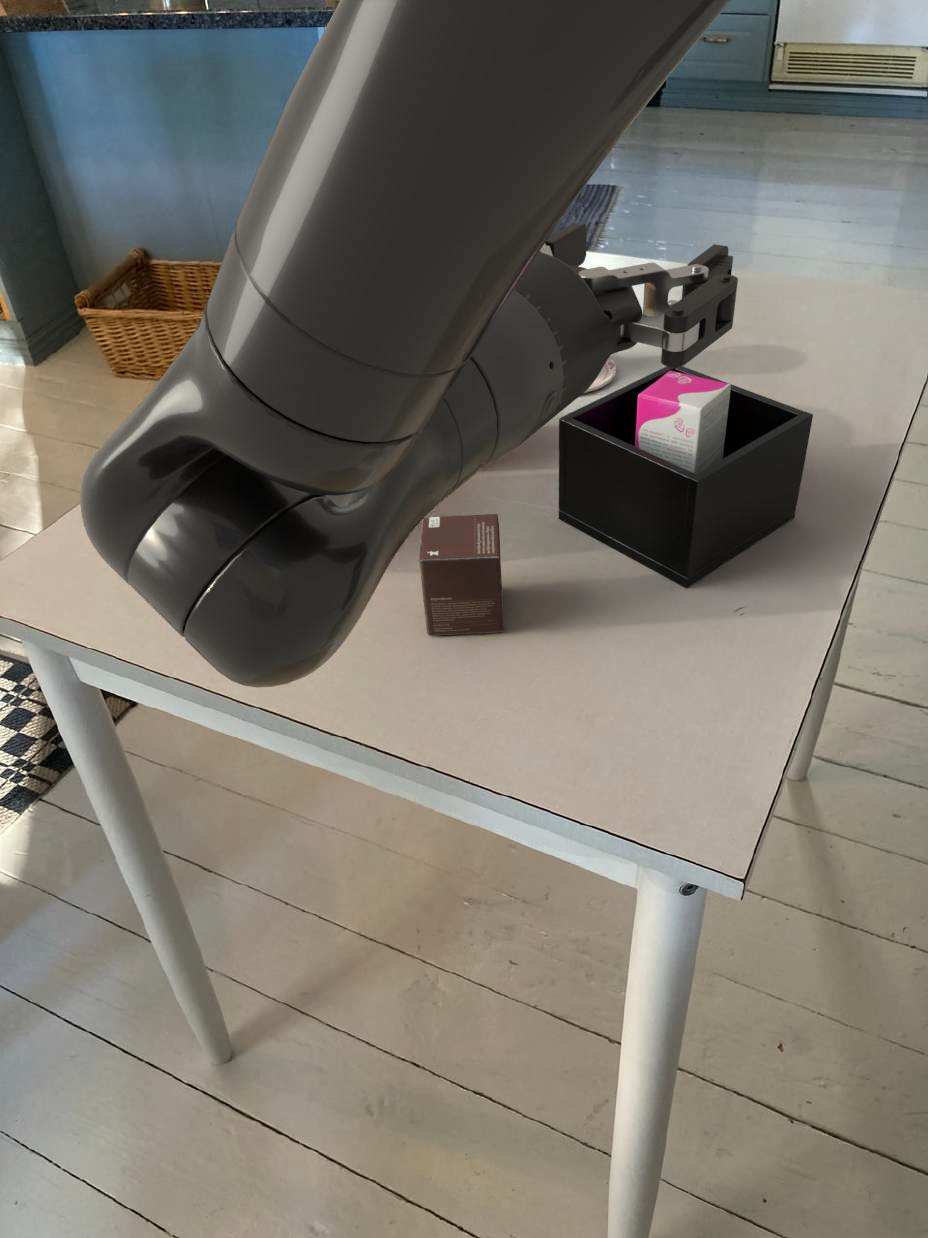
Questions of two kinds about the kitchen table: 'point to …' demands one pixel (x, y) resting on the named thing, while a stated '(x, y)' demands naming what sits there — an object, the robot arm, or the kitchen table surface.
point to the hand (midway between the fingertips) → (648, 251)
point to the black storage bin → (680, 482)
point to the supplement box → (683, 420)
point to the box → (461, 574)
